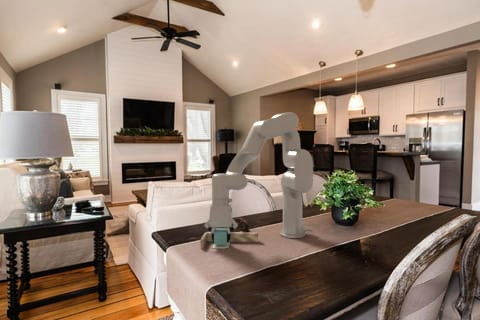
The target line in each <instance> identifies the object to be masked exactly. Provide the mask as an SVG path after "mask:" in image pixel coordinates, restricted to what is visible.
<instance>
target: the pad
mask: <svg viewBox="0 0 480 320" xmlns="http://www.w3.org/2000/svg"><path fill="white" fill-rule="evenodd" d="M230 244H231V242H229V243H227V245H214V244H213V245H212V247H211V248H212V249H226V248H228V249H229V247H230Z"/></svg>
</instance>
